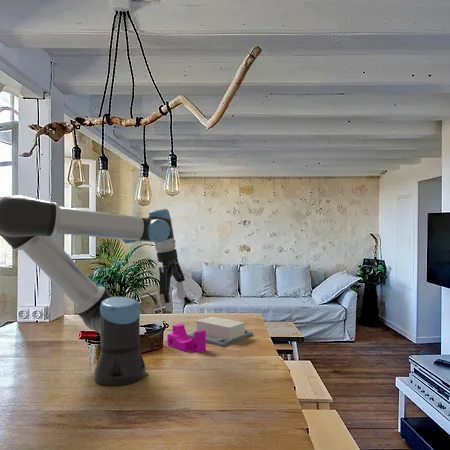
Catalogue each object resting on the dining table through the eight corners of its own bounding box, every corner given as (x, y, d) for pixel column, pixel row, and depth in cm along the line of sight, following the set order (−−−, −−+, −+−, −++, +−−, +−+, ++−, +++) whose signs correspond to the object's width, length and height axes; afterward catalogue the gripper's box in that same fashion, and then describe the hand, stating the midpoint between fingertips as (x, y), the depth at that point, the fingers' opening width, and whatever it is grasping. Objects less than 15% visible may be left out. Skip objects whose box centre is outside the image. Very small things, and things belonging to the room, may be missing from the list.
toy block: (167, 346, 145) (167, 326, 145) (179, 342, 149) (179, 323, 149) (193, 355, 134) (193, 334, 134) (205, 350, 139) (205, 330, 139)
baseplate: (222, 346, 142) (222, 330, 143) (187, 337, 155) (187, 322, 155) (252, 335, 158) (252, 320, 158) (218, 327, 170) (218, 314, 170)
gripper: (162, 256, 128) (174, 315, 130) (186, 242, 152) (195, 292, 154) (143, 259, 129) (154, 317, 132) (168, 244, 153) (178, 294, 156)
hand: (176, 303), depth 143 cm, fingers open, 13 cm apart
